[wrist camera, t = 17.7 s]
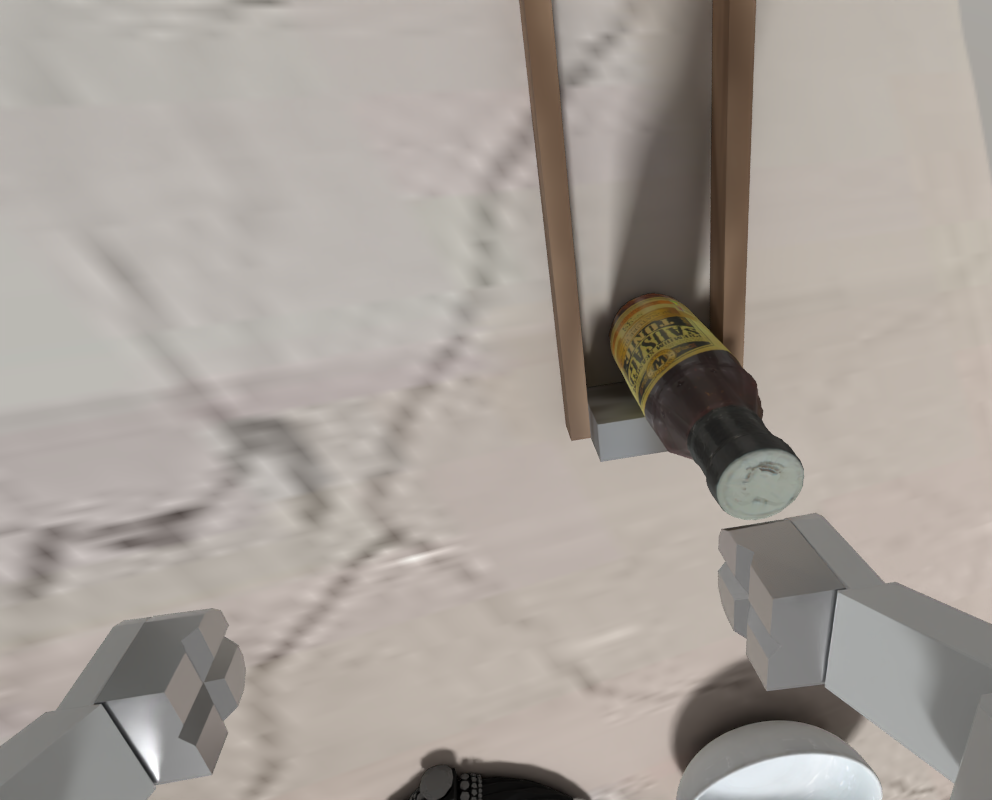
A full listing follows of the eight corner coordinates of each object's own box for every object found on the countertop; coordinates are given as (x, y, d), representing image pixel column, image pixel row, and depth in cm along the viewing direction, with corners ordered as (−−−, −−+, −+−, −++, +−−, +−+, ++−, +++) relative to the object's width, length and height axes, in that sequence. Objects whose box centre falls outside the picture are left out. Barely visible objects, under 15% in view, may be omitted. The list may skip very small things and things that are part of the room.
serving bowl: (622, 760, 66) (639, 827, 60) (780, 660, 60) (817, 723, 54) (727, 832, 73) (752, 898, 67) (877, 748, 68) (919, 812, 61)
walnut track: (566, 425, 47) (579, 465, 42) (516, -26, 34) (526, -53, 29) (727, 400, 47) (762, 436, 42) (738, -64, 34) (791, -98, 29)
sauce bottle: (650, 271, 42) (790, 386, 24) (704, 327, 44) (869, 470, 26) (584, 336, 44) (669, 486, 26) (639, 387, 46) (752, 558, 28)
